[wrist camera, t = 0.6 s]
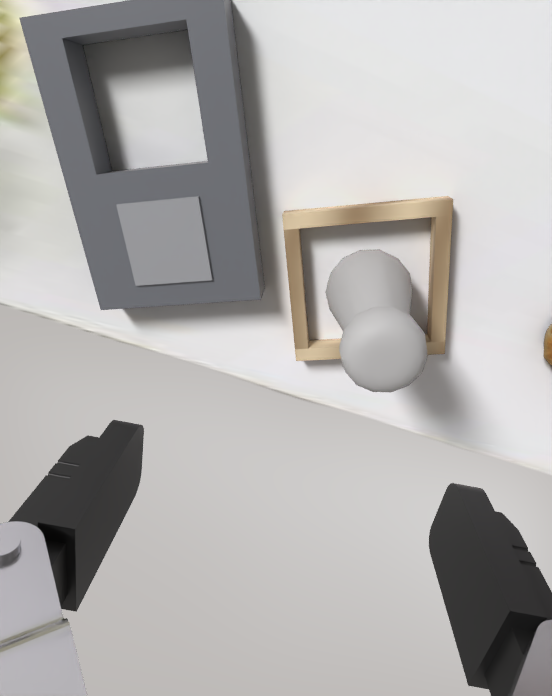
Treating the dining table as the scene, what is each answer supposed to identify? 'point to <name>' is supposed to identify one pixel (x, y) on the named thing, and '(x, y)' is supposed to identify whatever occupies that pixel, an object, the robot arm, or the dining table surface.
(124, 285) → the grey rectangular frame
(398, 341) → the salt shaker
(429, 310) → the wooden square frame
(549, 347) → the pastry
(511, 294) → the dining table surface
